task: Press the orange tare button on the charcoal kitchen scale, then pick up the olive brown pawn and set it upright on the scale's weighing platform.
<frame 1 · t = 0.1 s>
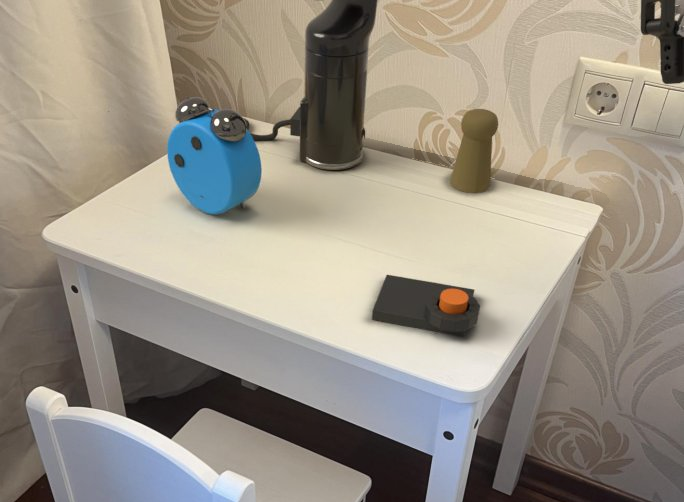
scale: (423, 309, 100), on the table
alarm clock: (216, 207, 119), on the table
tare button: (453, 301, 96), point 3 cm above the table, slide at 0.1 cm
olive brown pawn: (469, 184, 125), on the table
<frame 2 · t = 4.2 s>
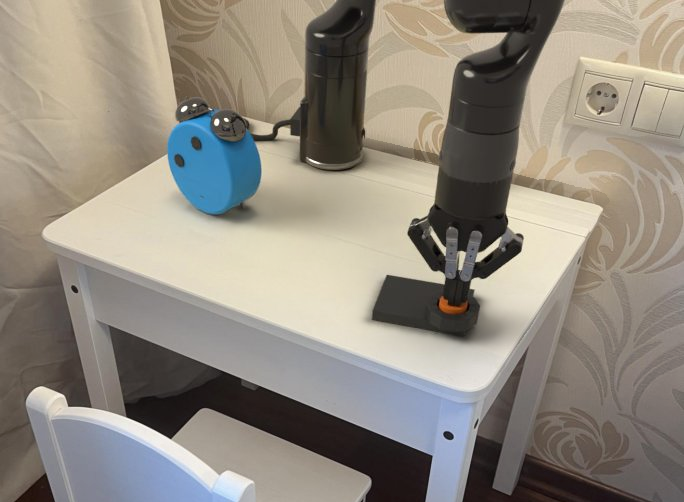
hand: (454, 301, 96), 3 cm above the table, tool pointing down, fingers closed
tare button: (452, 306, 96), point 3 cm above the table, slide at -0.6 cm, touching gripper
everything else where it was.
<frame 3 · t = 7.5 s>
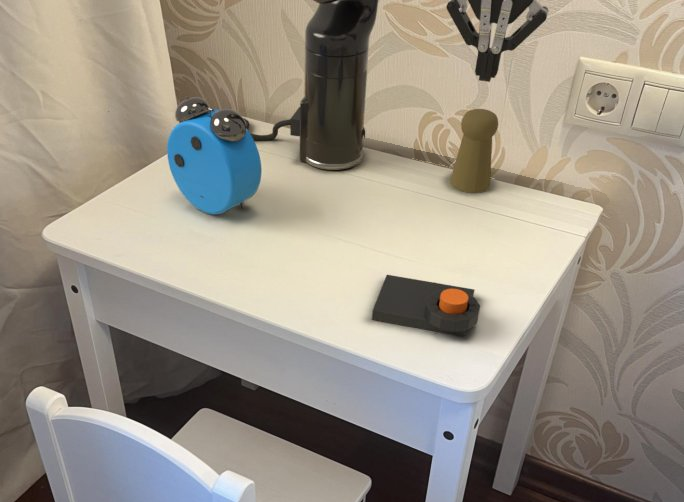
hand: (484, 79, 109), 18 cm above the table, tool pointing down, fingers closed
tare button: (453, 301, 96), point 3 cm above the table, slide at 0.1 cm
everything else where it was.
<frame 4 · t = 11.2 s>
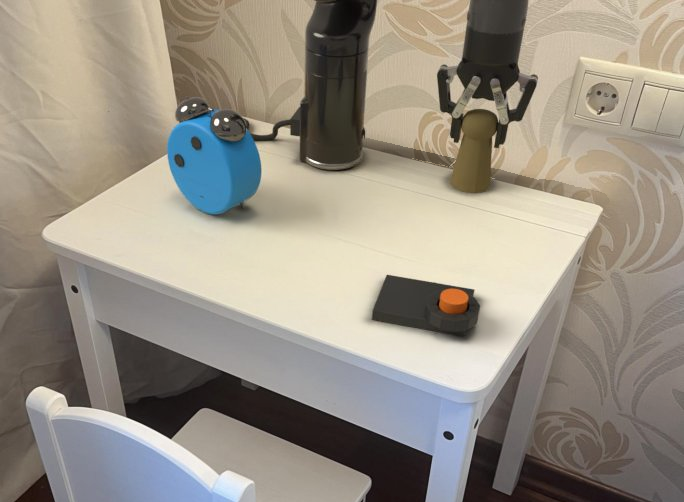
hand: (476, 142, 120), 6 cm above the table, tool pointing down, fingers closed on olive brown pawn, 5 cm apart
olive brown pawn: (469, 184, 125), on the table, touching gripper
everything else where it was.
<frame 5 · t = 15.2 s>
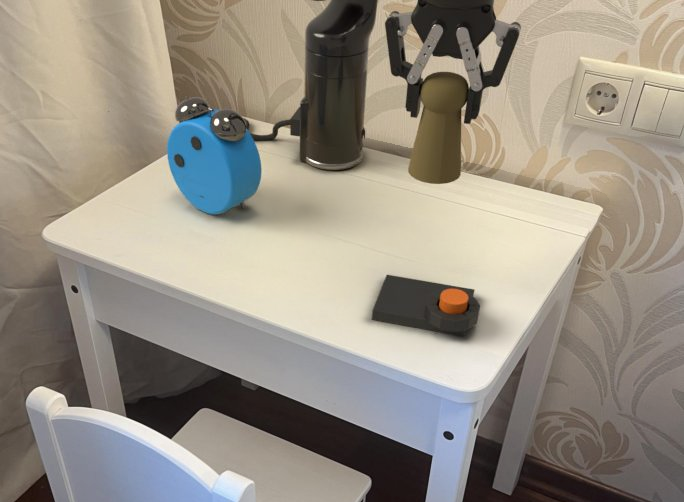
hand: (441, 117, 91), 22 cm above the table, tool pointing down, fingers closed on olive brown pawn, 5 cm apart
olive brown pawn: (434, 173, 95), point 15 cm above the table, touching gripper
everything else where it was.
when the fingers open (8 cm above the table, at t = 19.3 s): olive brown pawn stays where it is, resting on scale.
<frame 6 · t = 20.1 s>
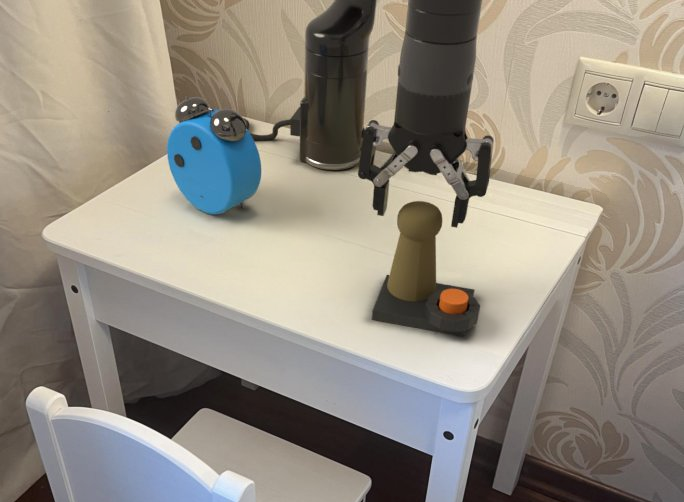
hand: (417, 218, 95), 11 cm above the table, tool pointing down, fingers open, 8 cm apart
olive brown pawn: (411, 288, 102), point 1 cm above the table, touching scale
everything else where it was.
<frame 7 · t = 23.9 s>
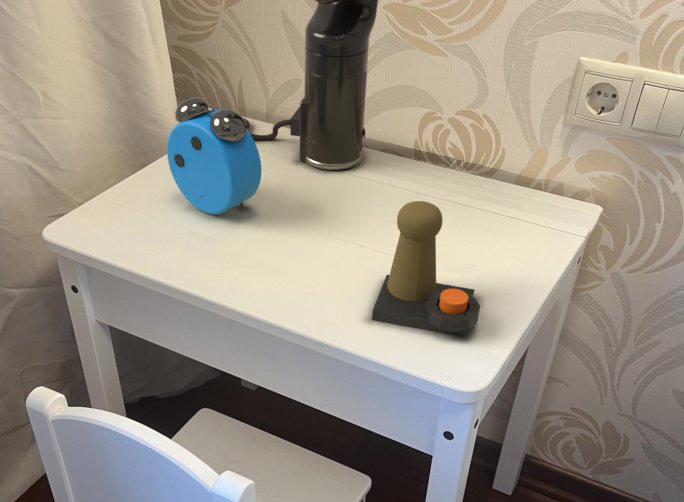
nothing on the table moved.
at the end: tare button pushed in 0.9 cm at the most during the clip, back to where it started at the end; olive brown pawn inside the target area on the scale (2.6 cm from its centre), point 1.2 cm above the scale's base; olive brown pawn touching scale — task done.
